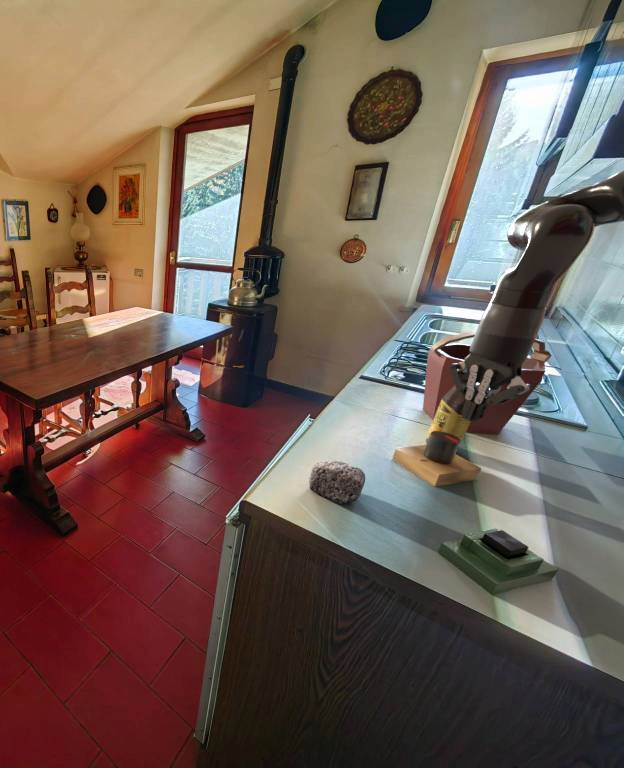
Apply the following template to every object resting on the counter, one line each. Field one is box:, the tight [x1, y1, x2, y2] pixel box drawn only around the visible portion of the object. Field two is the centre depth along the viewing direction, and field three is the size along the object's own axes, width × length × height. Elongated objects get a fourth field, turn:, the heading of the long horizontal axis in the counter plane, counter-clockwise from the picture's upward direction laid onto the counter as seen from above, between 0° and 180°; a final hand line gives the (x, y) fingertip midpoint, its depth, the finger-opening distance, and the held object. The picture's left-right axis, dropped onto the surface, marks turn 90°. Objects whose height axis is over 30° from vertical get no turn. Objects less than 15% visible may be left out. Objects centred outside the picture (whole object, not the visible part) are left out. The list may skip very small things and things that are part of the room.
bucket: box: [422, 330, 552, 435], centre depth 102 cm, size 24×22×25 cm
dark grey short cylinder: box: [423, 431, 462, 464], centre depth 83 cm, size 5×5×6 cm
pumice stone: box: [308, 460, 366, 505], centre depth 75 cm, size 10×8×10 cm
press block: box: [437, 528, 559, 596], centre depth 60 cm, size 12×8×4 cm, turn 103°
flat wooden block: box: [391, 444, 482, 487], centre depth 84 cm, size 11×10×3 cm
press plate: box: [481, 529, 530, 559], centre depth 59 cm, size 4×4×2 cm
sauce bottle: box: [425, 386, 470, 448], centre depth 90 cm, size 6×6×20 cm
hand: (469, 419), depth 74 cm, fingers closed
